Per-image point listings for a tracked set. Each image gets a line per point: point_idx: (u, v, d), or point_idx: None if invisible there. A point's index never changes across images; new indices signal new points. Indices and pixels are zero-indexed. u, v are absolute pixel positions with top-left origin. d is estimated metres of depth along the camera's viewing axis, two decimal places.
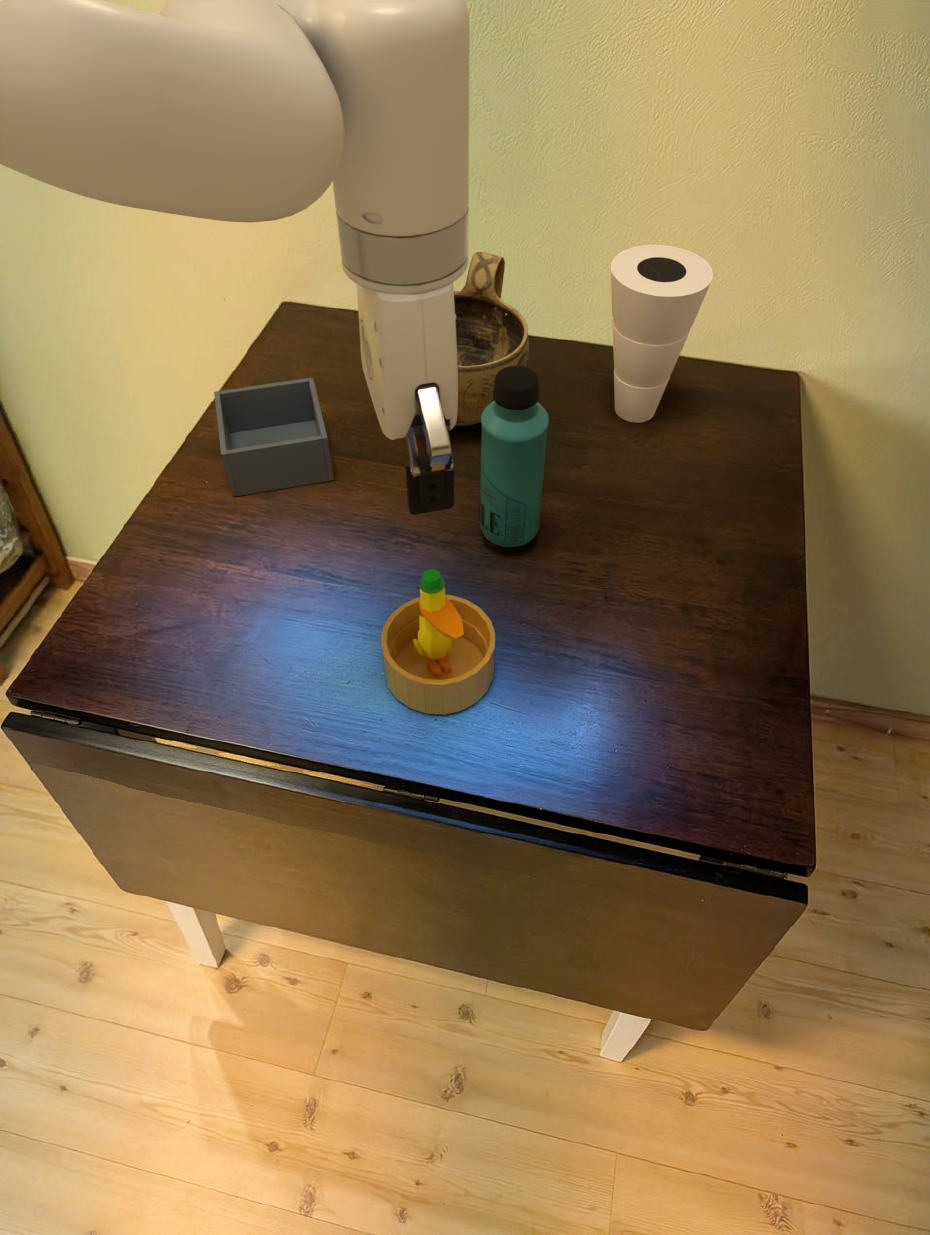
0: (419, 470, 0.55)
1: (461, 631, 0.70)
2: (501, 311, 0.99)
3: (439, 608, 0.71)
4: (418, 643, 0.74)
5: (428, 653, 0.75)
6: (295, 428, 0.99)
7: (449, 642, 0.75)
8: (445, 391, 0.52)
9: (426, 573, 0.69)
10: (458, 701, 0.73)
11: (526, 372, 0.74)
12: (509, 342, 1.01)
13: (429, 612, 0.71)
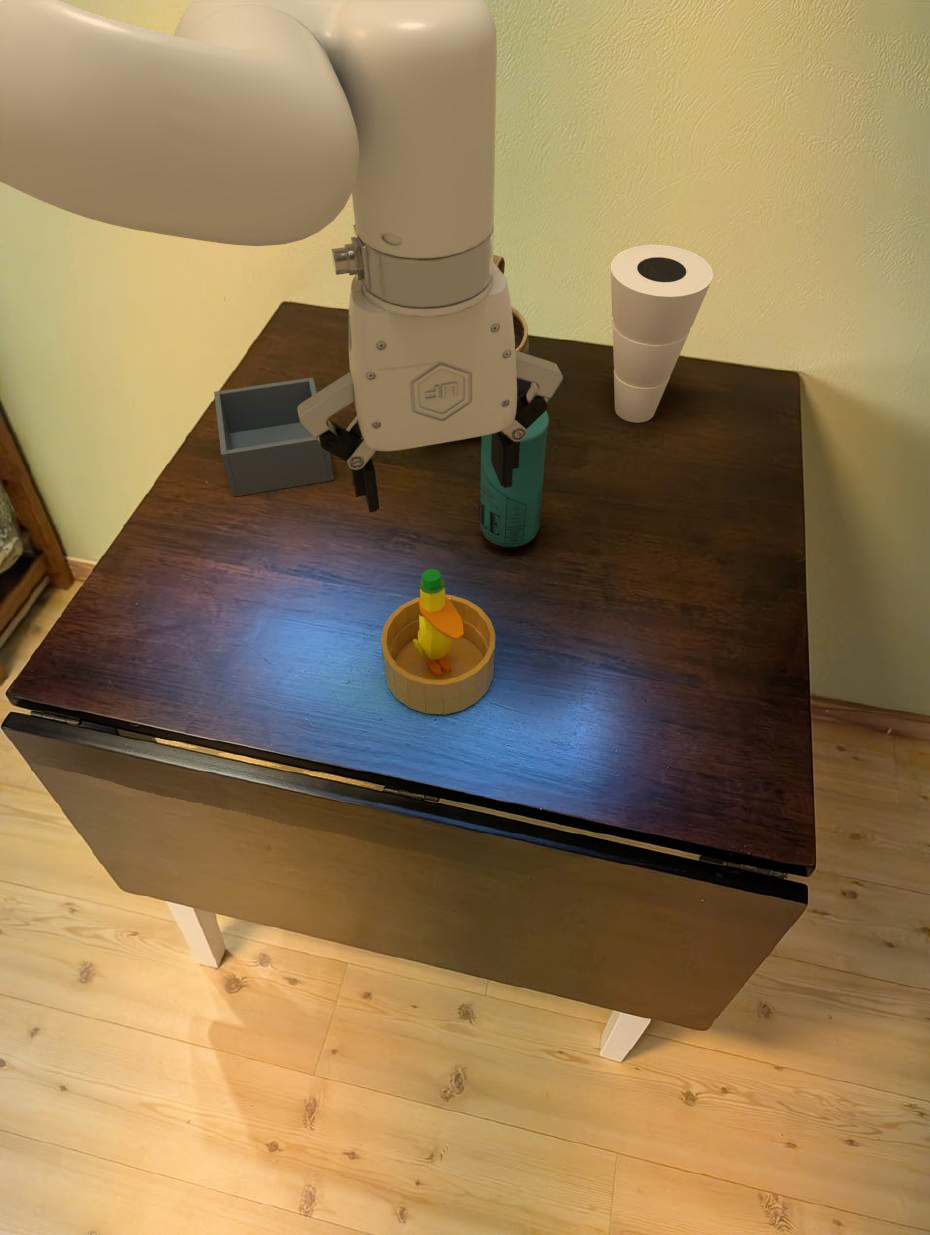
0: (525, 427, 0.57)
1: (461, 631, 0.70)
2: None
3: (439, 608, 0.71)
4: (418, 643, 0.74)
5: (428, 653, 0.75)
6: (295, 428, 0.99)
7: (449, 642, 0.75)
8: None
9: (426, 573, 0.69)
10: (458, 701, 0.73)
11: None
12: None
13: (429, 612, 0.71)
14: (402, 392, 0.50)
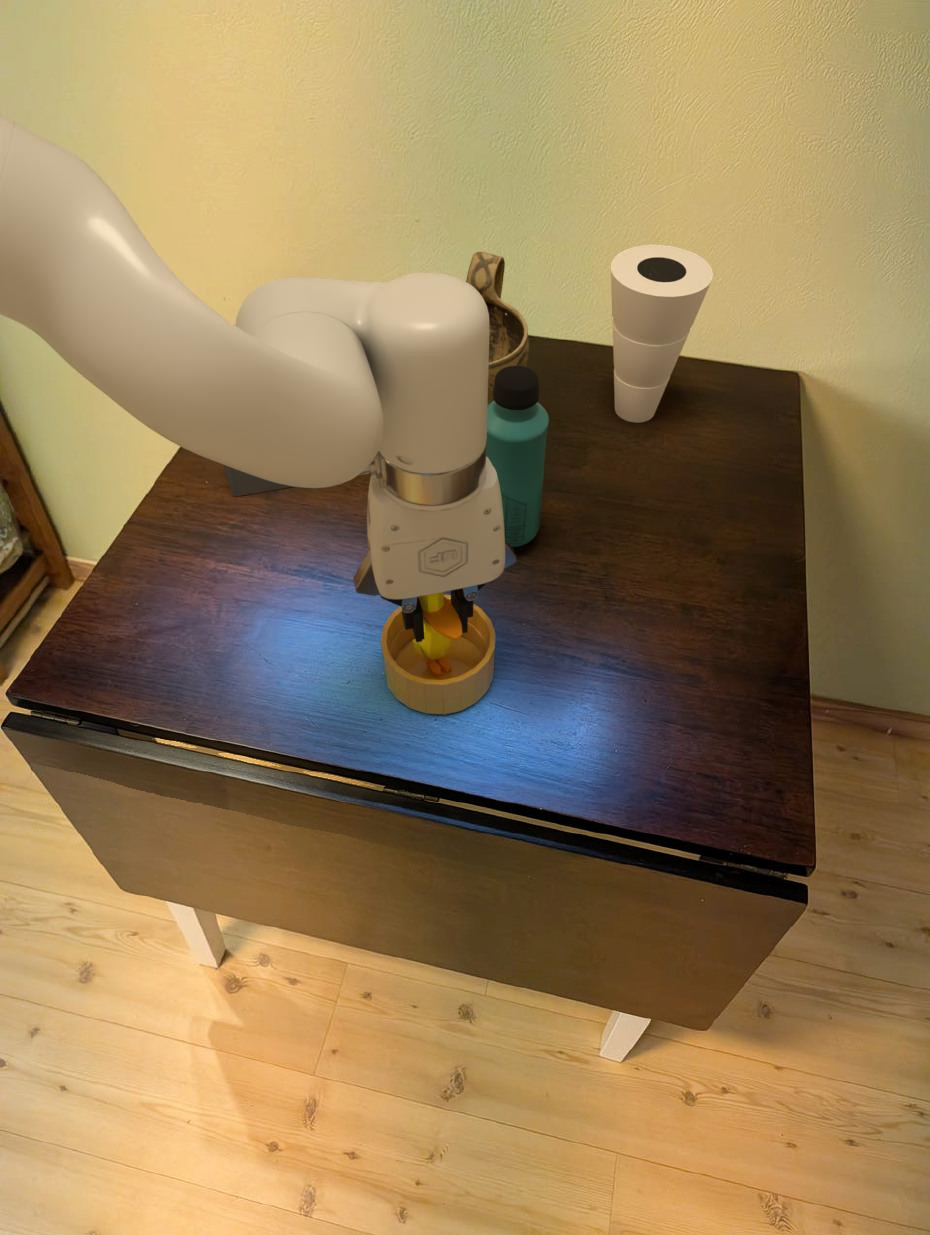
0: None
1: (460, 631, 0.70)
2: (501, 311, 0.99)
3: (438, 608, 0.71)
4: (417, 643, 0.74)
5: (428, 653, 0.75)
6: None
7: (448, 642, 0.75)
8: None
9: None
10: (458, 701, 0.73)
11: (526, 372, 0.74)
12: (509, 342, 1.01)
13: (428, 612, 0.71)
14: (411, 559, 0.61)
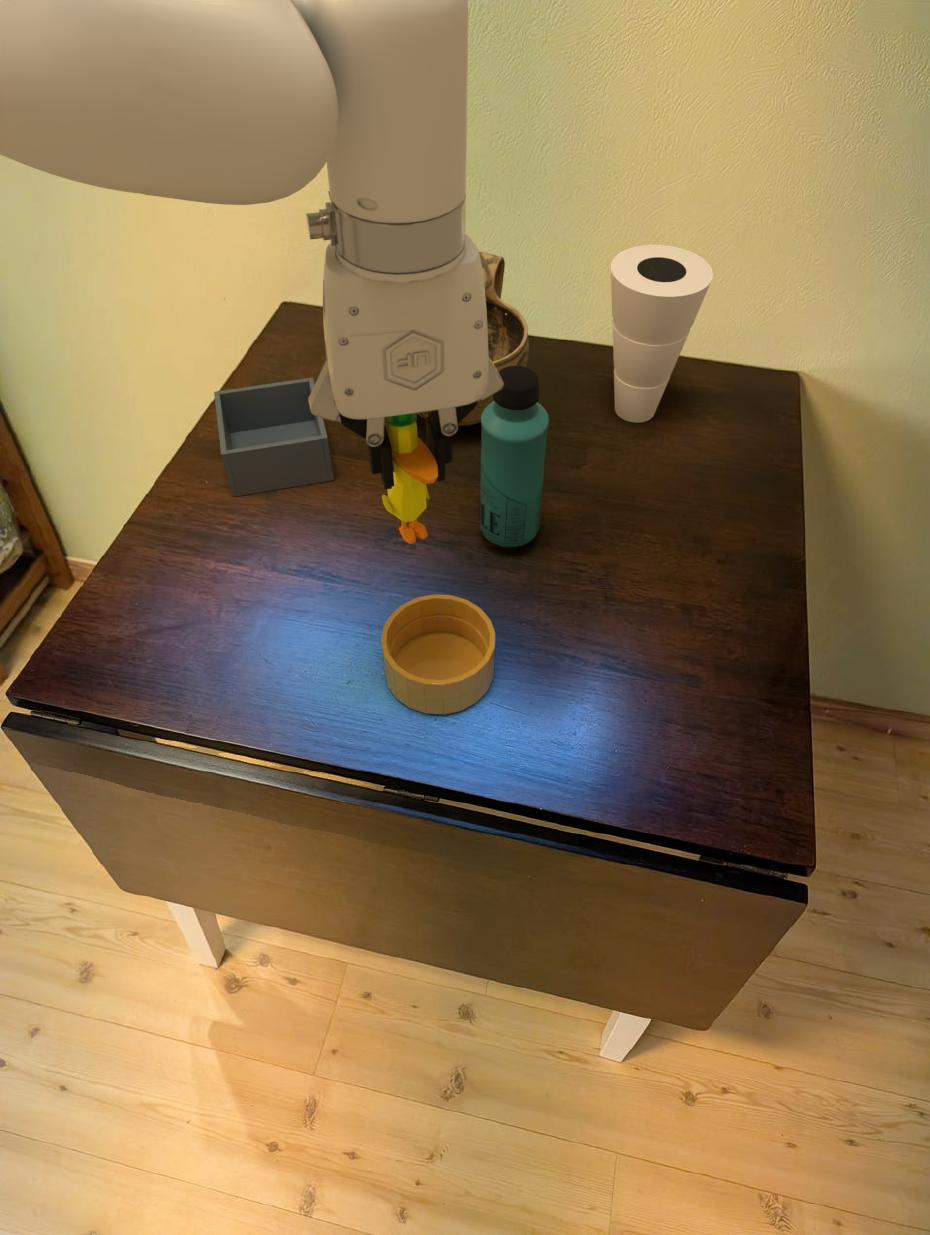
0: None
1: (435, 473, 0.59)
2: (501, 311, 0.99)
3: (410, 449, 0.60)
4: (387, 498, 0.64)
5: (399, 511, 0.64)
6: (295, 428, 0.99)
7: (424, 498, 0.64)
8: None
9: None
10: (458, 701, 0.73)
11: (526, 372, 0.74)
12: (509, 342, 1.01)
13: (398, 453, 0.60)
14: (374, 359, 0.51)
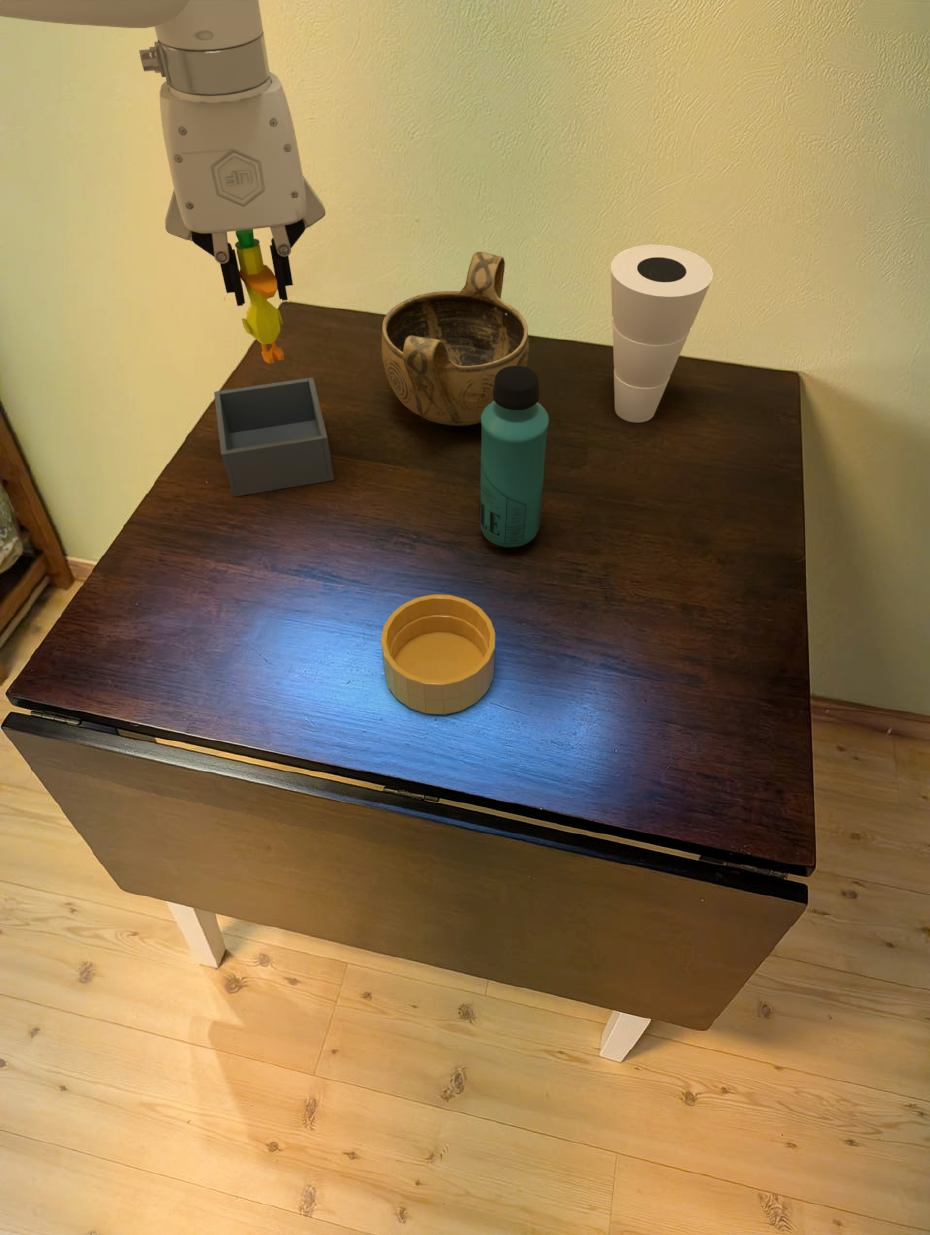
0: (289, 244, 0.72)
1: (274, 288, 0.73)
2: (501, 311, 0.99)
3: (256, 271, 0.74)
4: (245, 320, 0.78)
5: (256, 331, 0.78)
6: (295, 428, 0.99)
7: (276, 321, 0.78)
8: None
9: (240, 230, 0.73)
10: (458, 701, 0.73)
11: (526, 372, 0.74)
12: (509, 342, 1.01)
13: (247, 274, 0.74)
14: (206, 176, 0.65)
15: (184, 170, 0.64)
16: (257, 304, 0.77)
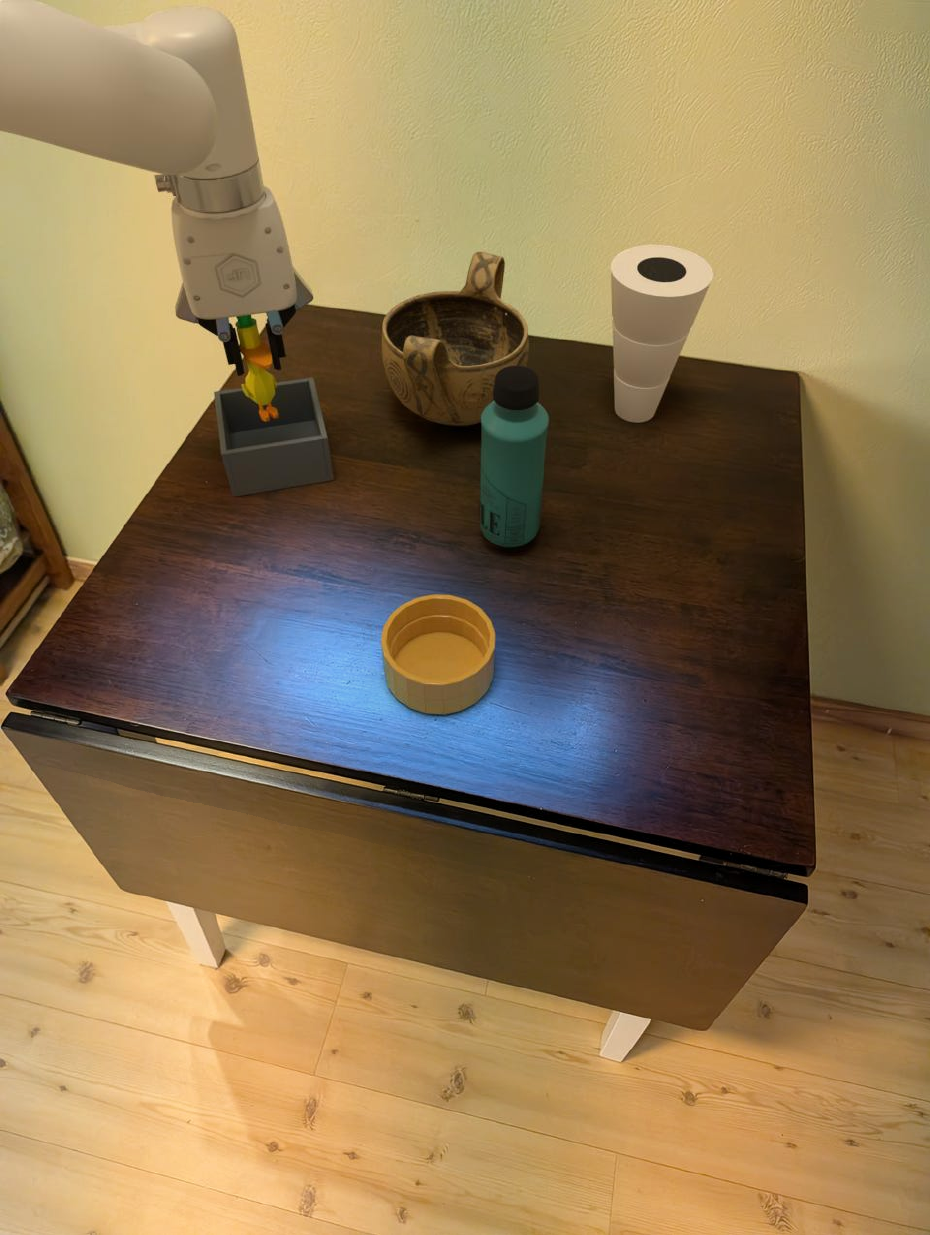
0: (282, 324, 0.84)
1: (270, 361, 0.84)
2: (501, 311, 0.99)
3: (254, 345, 0.85)
4: (245, 386, 0.89)
5: (253, 395, 0.90)
6: (295, 428, 0.99)
7: (271, 386, 0.90)
8: None
9: None
10: (458, 701, 0.73)
11: (526, 372, 0.74)
12: (509, 342, 1.01)
13: (246, 349, 0.85)
14: (210, 274, 0.76)
15: (192, 270, 0.76)
16: (255, 372, 0.88)
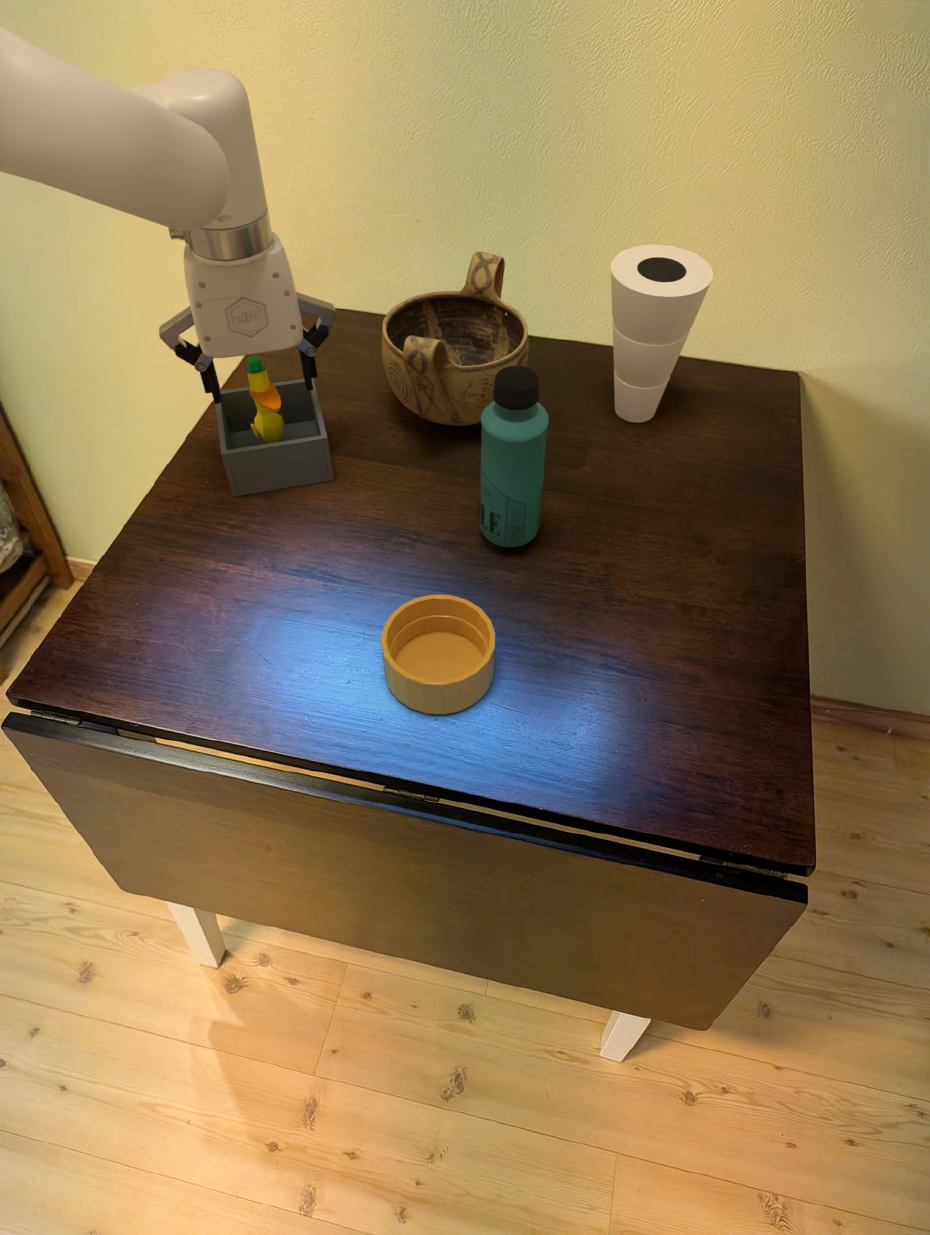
0: (315, 347, 0.87)
1: (278, 405, 0.88)
2: (501, 311, 0.99)
3: (263, 389, 0.90)
4: (254, 426, 0.93)
5: (262, 434, 0.94)
6: (295, 428, 0.99)
7: (279, 426, 0.94)
8: None
9: (250, 358, 0.88)
10: (458, 701, 0.73)
11: (526, 372, 0.74)
12: (509, 342, 1.01)
13: (255, 392, 0.89)
14: (220, 316, 0.80)
15: (203, 313, 0.79)
16: (263, 414, 0.92)
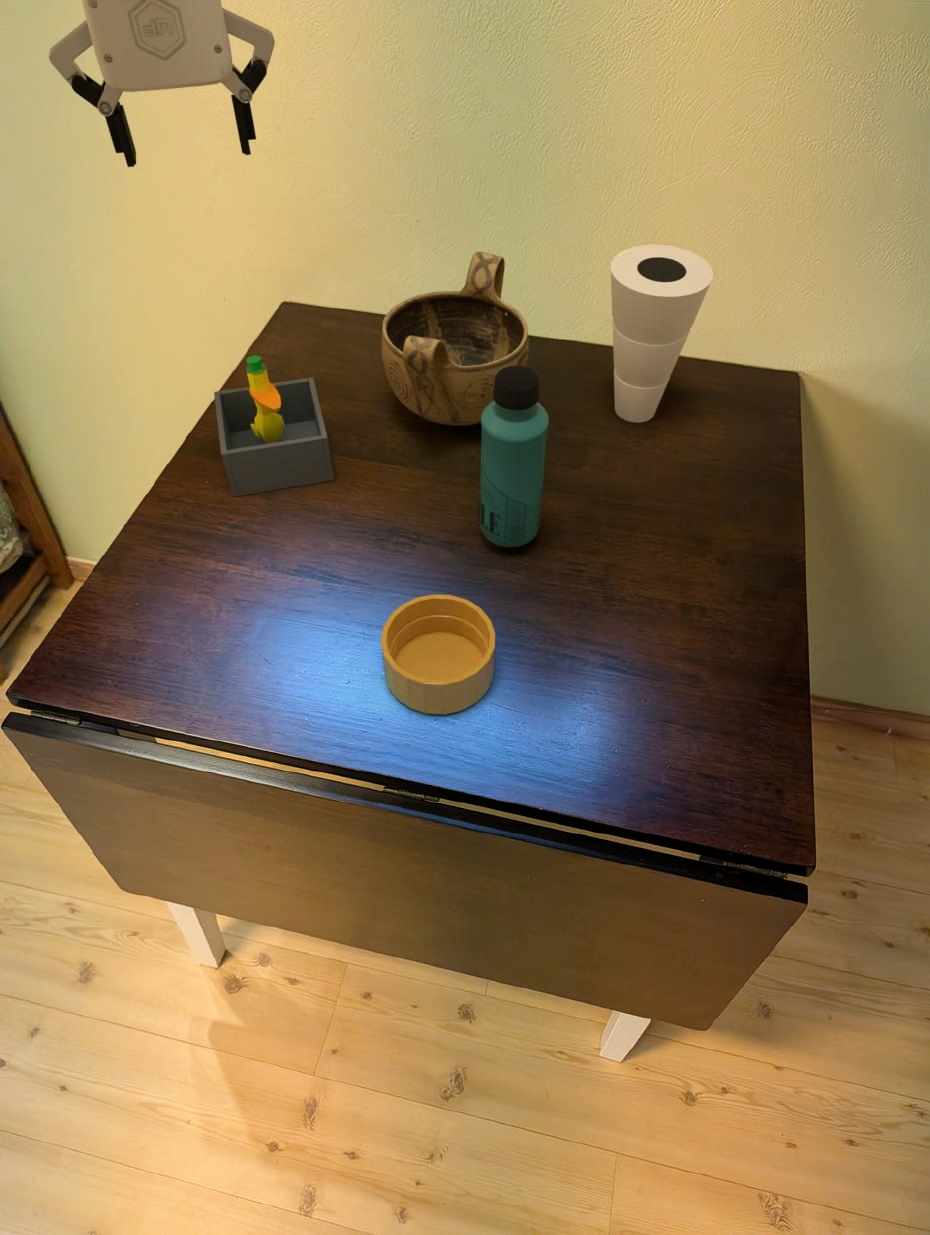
0: (251, 90, 0.70)
1: (278, 405, 0.88)
2: (501, 311, 0.99)
3: (263, 389, 0.90)
4: (254, 426, 0.93)
5: (262, 434, 0.94)
6: (295, 428, 0.99)
7: (279, 426, 0.94)
8: None
9: (250, 358, 0.88)
10: (458, 701, 0.73)
11: (526, 372, 0.74)
12: (509, 342, 1.01)
13: (255, 392, 0.89)
14: (123, 24, 0.63)
15: (100, 17, 0.62)
16: (263, 414, 0.92)
